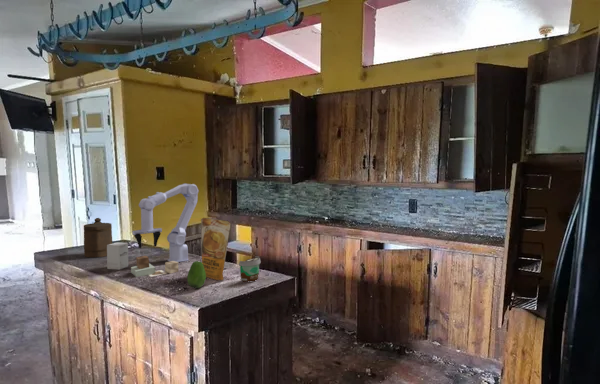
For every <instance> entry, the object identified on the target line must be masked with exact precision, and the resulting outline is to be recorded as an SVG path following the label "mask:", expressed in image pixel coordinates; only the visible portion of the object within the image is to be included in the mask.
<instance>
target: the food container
mask: <svg viewBox="0 0 600 384" xmlns="http://www.w3.org/2000/svg"><path fill="white" fill-rule="evenodd" d="M261 262H262V261H261V258H260V256H257V255H254V257H253V258H249V259H246V260H243V261H242V260H239V264H238V266H239V272H240V281H243V282H242V283H249V282H248V281H254V282H256V281H255V280H257V279H258V280H259V270H260V264H261ZM258 280H257V281H258Z"/></svg>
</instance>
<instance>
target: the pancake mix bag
mask: <svg viewBox="0 0 600 384" xmlns="http://www.w3.org/2000/svg"><path fill="white" fill-rule="evenodd" d="M200 222H201V224H200V226H201V231H200V232H201V233H200V234H201V237H200V239H201V243H200V247H201V262H202V263H203V266H204V269H205V273H206V278H207V279H211V280H214V281H224V279H225V278H224V270H225V269H224V268H225V263H226V256H227V251H228V250H227V249H228V245H229V239H230V232H231V228H232V224H231V222H230V221H229V220H223V219H218V218H209V217H203V218H200Z"/></svg>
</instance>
